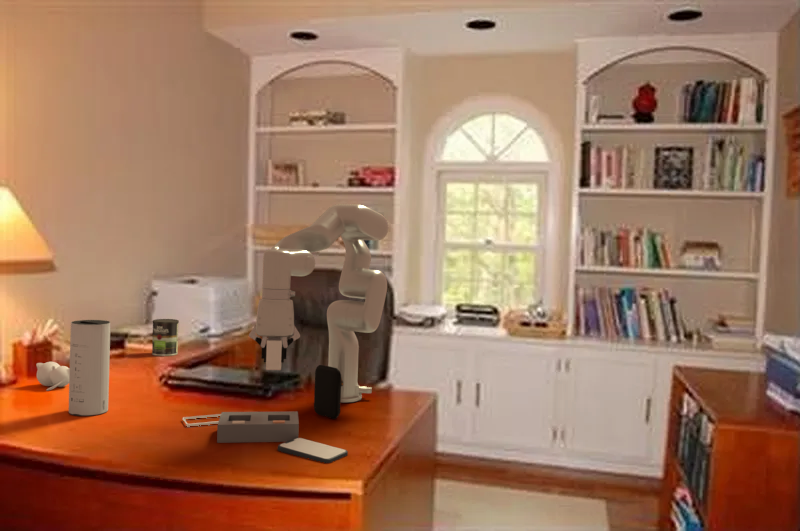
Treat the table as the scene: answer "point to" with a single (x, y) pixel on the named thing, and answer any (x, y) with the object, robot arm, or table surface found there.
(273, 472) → the table surface
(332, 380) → the carrying case or bag
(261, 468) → the table surface
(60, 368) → the cat figurine
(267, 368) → the plug
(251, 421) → the hub
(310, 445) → the phone case
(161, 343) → the coffee can
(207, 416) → the phone case
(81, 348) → the speaker
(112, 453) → the table surface
